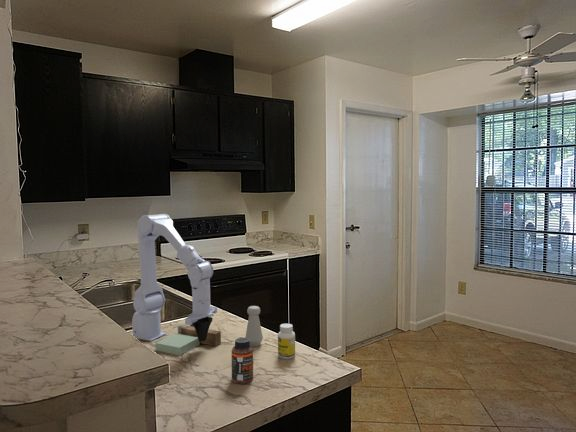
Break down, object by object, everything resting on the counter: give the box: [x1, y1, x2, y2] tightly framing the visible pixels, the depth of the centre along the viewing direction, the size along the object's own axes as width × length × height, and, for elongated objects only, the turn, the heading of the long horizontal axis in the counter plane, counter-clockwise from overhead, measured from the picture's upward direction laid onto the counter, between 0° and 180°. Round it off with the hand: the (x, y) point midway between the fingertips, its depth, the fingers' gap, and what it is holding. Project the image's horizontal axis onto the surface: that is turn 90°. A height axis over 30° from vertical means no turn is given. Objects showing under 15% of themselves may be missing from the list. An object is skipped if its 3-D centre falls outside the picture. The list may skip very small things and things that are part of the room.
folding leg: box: [177, 324, 222, 347], centre depth 149 cm, size 17×3×4 cm, turn 65°
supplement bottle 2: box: [277, 323, 296, 360], centre depth 136 cm, size 5×5×10 cm
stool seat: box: [155, 332, 200, 356], centre depth 144 cm, size 10×10×2 cm
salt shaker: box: [244, 305, 264, 348], centre depth 145 cm, size 6×6×13 cm
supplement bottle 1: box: [231, 337, 254, 385], centre depth 119 cm, size 6×6×11 cm
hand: (202, 340), depth 142 cm, fingers closed
